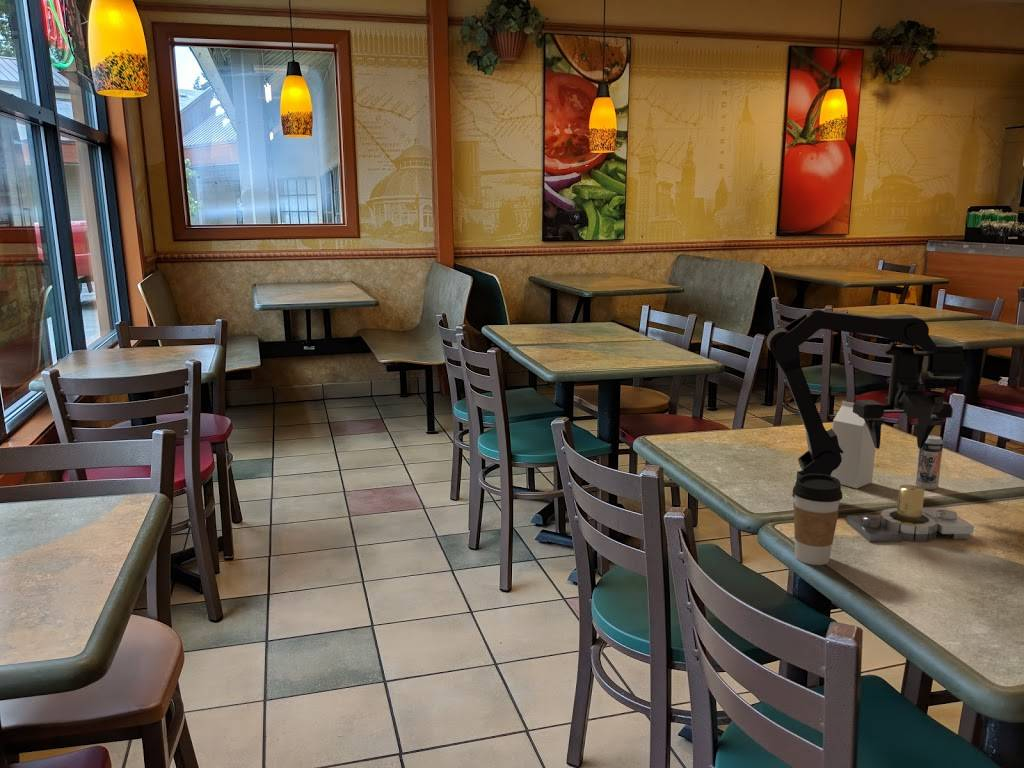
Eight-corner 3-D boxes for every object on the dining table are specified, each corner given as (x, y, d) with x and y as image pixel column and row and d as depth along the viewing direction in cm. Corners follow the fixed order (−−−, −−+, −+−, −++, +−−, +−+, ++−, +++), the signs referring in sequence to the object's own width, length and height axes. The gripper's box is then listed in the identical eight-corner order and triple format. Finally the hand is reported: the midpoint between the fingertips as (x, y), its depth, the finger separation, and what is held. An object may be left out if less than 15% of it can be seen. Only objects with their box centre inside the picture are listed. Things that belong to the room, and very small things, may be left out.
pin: (902, 536, 156) (906, 492, 154) (890, 527, 160) (895, 484, 158) (924, 535, 156) (929, 492, 154) (912, 527, 160) (917, 484, 158)
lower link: (869, 542, 153) (871, 527, 152) (846, 522, 162) (847, 508, 162) (946, 541, 153) (948, 526, 152) (919, 521, 163) (920, 507, 162)
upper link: (895, 541, 153) (897, 523, 152) (870, 522, 163) (872, 504, 162) (972, 540, 153) (974, 522, 152) (943, 521, 163) (945, 503, 162)
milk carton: (857, 489, 182) (864, 408, 178) (828, 481, 188) (834, 403, 184) (872, 483, 187) (879, 404, 183) (843, 475, 192) (850, 398, 188)
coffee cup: (843, 557, 146) (850, 479, 143) (826, 572, 140) (833, 491, 136) (798, 545, 151) (804, 469, 148) (780, 559, 145) (785, 480, 142)
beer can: (914, 488, 183) (919, 438, 180) (914, 482, 187) (920, 433, 184) (937, 491, 181) (943, 440, 178) (938, 485, 185) (943, 435, 182)
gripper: (880, 384, 158) (873, 459, 161) (972, 383, 158) (963, 459, 161) (854, 373, 169) (848, 444, 172) (941, 372, 169) (933, 443, 172)
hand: (898, 448), depth 169 cm, fingers open, 9 cm apart
